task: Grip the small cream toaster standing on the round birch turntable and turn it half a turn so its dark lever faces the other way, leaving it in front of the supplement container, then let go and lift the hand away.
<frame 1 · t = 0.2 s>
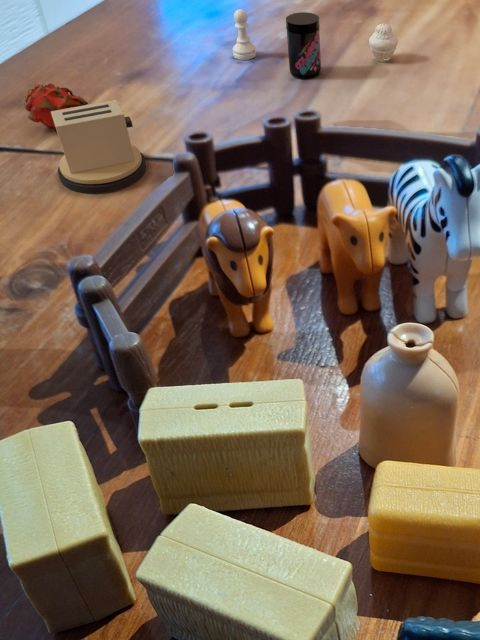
muffin: (382, 60, 158), on the table
toaster: (94, 138, 123), point 6 cm above the table, hinge at 0.0°
turntable base: (103, 171, 128), on the table
supplement container: (305, 74, 153), on the table
chess pawn: (245, 56, 159), on the table
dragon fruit: (63, 127, 139), on the table
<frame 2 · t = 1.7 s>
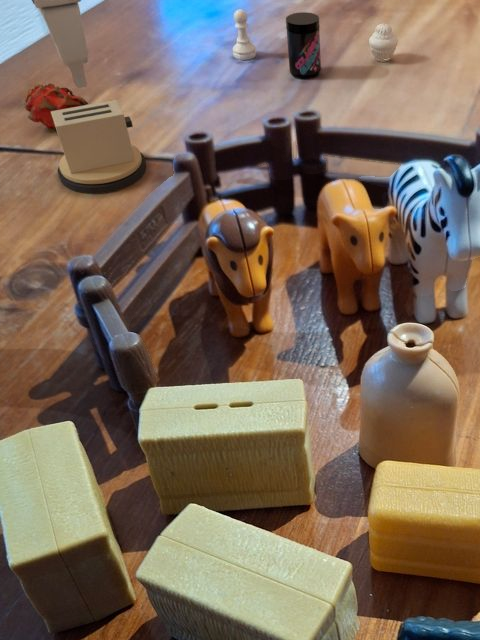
hand: (76, 73, 115), 16 cm above the table, tool pointing down, fingers open, 8 cm apart
nothing on the table moved.
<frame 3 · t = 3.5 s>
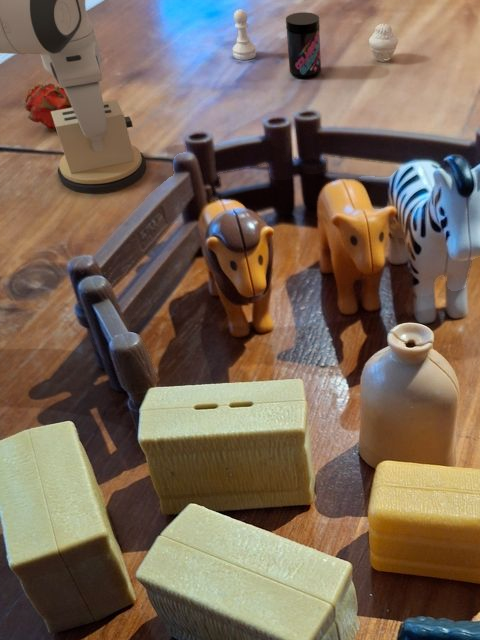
hand: (94, 139, 123), 6 cm above the table, tool pointing down, fingers closed on toaster, 6 cm apart
toaster: (94, 138, 123), point 6 cm above the table, hinge at 0.0°, touching gripper
everything else where it was.
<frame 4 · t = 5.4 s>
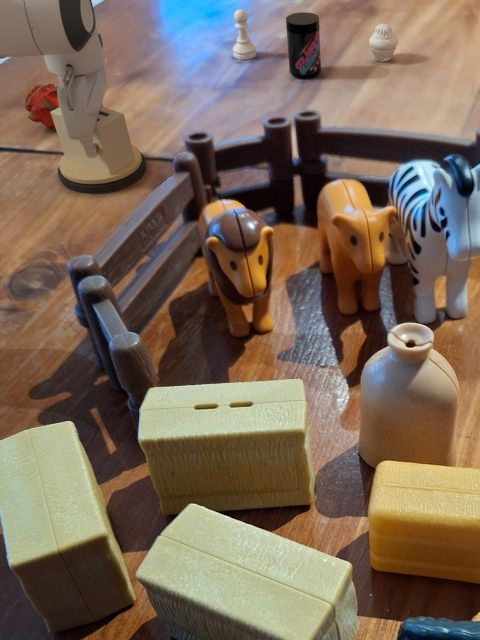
hand: (97, 141, 123), 6 cm above the table, tool pointing down
toaster: (94, 138, 123), point 6 cm above the table, hinge at 124.7°, touching gripper
everything else where it was.
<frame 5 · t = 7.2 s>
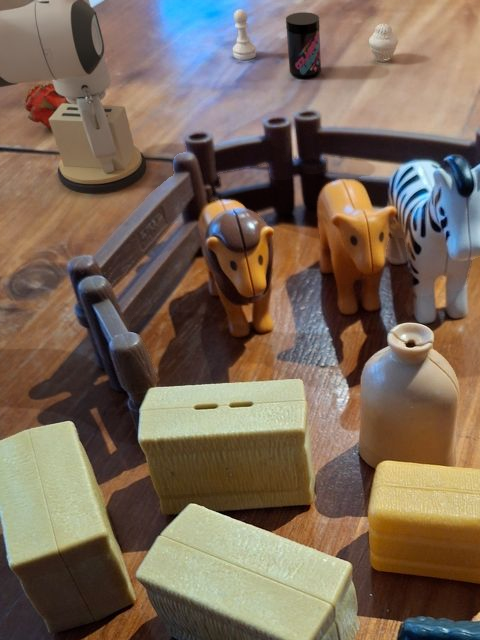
hand: (104, 158, 126), 2 cm above the table, tool pointing down, fingers closed on toaster, 7 cm apart
toaster: (94, 138, 123), point 6 cm above the table, hinge at 150.3°, touching gripper
everything else where it was.
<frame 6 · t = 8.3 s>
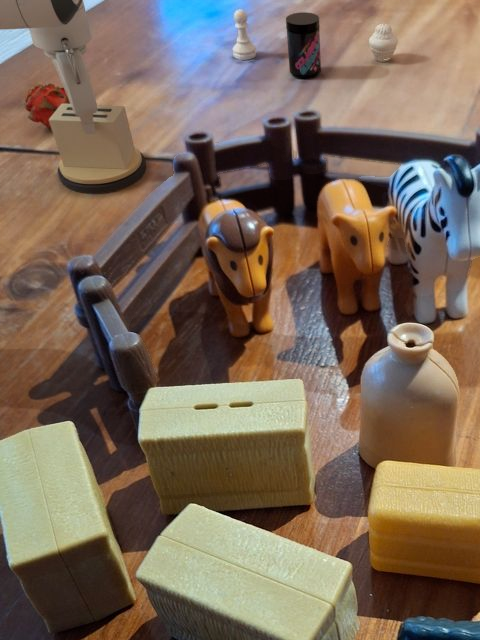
hand: (84, 119, 121), 9 cm above the table, tool pointing down, fingers open, 8 cm apart
toaster: (94, 138, 123), point 6 cm above the table, hinge at 151.0°
everything else where it was.
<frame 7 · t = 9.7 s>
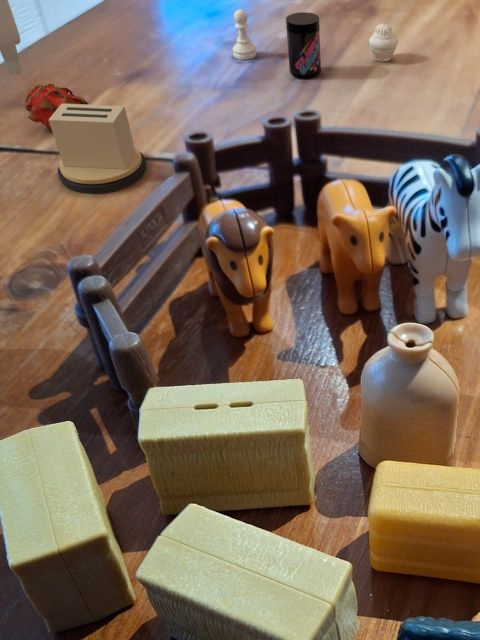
hand: (10, 60, 100), 24 cm above the table, tool pointing down, fingers open, 8 cm apart
nothing on the table moved.
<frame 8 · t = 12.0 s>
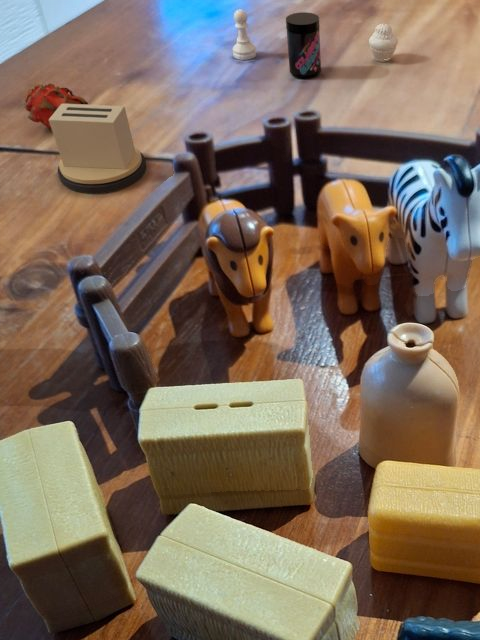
nothing on the table moved.
at the end: toaster at +151° (first picture: +0°); supplement container moved 0.2 cm from its start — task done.
